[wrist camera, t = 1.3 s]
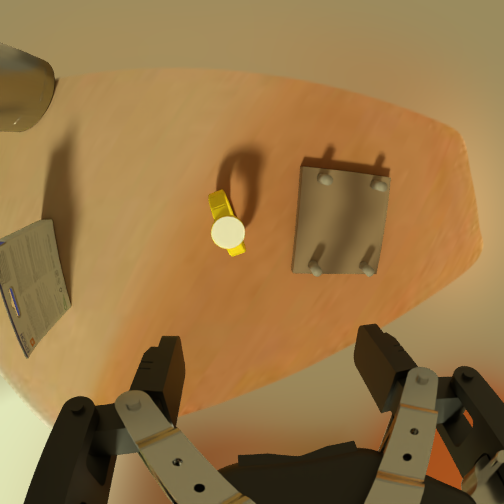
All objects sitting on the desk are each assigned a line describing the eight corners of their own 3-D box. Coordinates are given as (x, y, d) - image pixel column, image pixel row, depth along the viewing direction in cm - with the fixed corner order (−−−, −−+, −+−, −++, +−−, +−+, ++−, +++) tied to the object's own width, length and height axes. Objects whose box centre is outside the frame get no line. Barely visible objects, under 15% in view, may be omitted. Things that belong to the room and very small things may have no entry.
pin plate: (291, 269, 32) (297, 280, 29) (300, 166, 28) (308, 167, 25) (372, 270, 33) (384, 280, 30) (386, 176, 29) (400, 179, 26)
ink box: (39, 219, 27) (-25, 248, 17) (53, 217, 28) (-10, 247, 17) (58, 307, 31) (12, 358, 20) (72, 307, 31) (27, 361, 20)
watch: (203, 194, 28) (197, 203, 23) (229, 183, 28) (229, 190, 23) (225, 248, 30) (224, 269, 25) (250, 238, 30) (256, 258, 25)
